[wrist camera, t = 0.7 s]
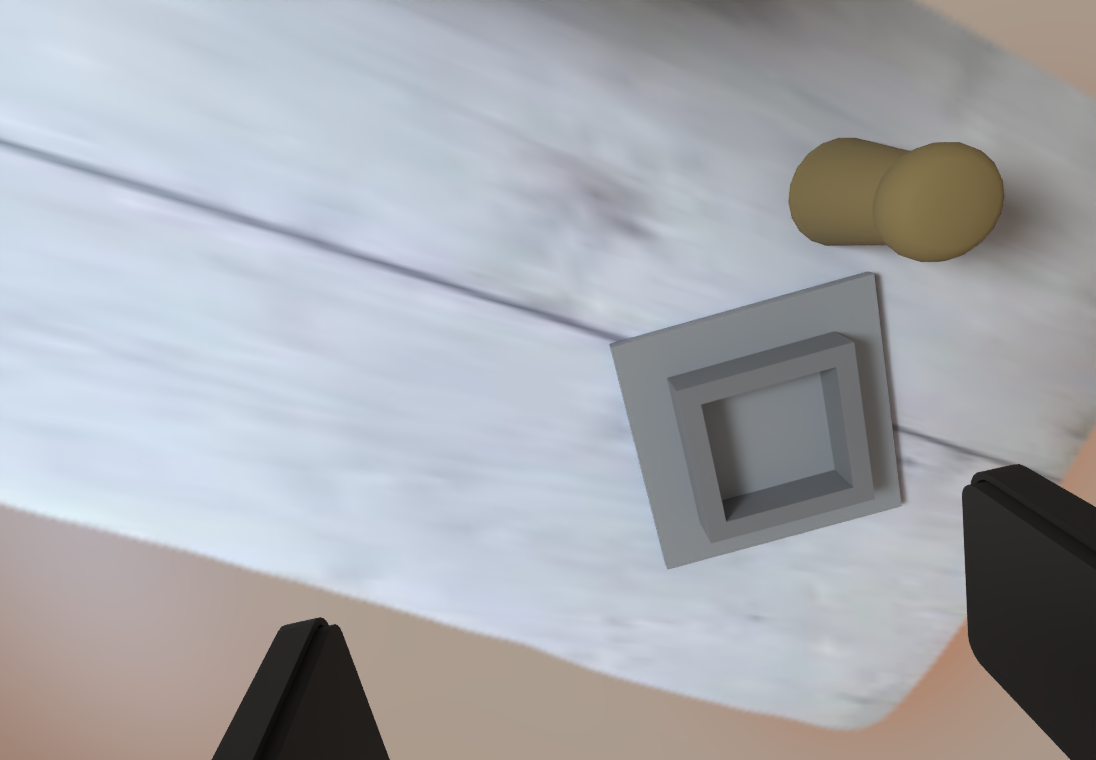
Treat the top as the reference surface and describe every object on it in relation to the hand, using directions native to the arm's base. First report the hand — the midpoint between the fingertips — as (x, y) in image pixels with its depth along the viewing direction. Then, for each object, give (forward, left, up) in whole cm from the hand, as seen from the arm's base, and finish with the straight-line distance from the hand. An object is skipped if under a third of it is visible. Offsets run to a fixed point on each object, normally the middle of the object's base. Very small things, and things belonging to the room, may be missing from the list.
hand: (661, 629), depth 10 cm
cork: (0, +18, -32) cm, 36 cm away
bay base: (+13, +11, -31) cm, 36 cm away
